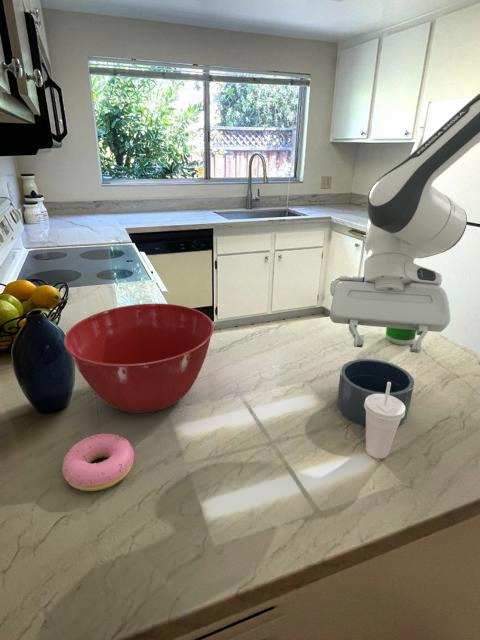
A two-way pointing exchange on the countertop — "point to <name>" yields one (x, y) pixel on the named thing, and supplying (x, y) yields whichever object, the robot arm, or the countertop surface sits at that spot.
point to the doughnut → (98, 474)
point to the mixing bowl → (141, 353)
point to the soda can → (400, 335)
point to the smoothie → (382, 422)
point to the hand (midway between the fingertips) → (386, 349)
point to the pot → (371, 386)
